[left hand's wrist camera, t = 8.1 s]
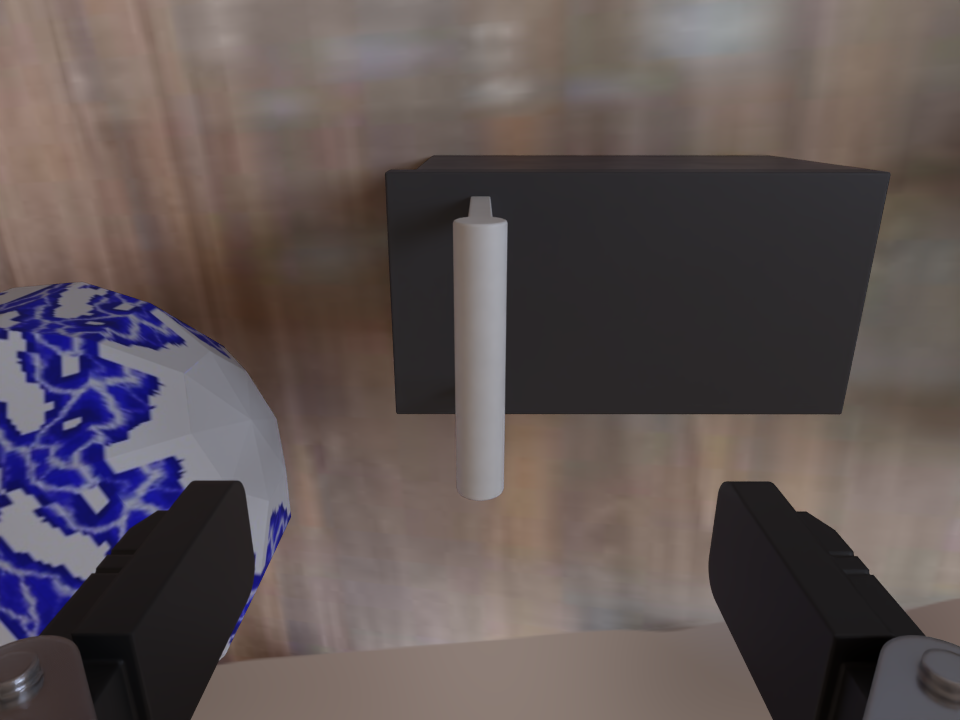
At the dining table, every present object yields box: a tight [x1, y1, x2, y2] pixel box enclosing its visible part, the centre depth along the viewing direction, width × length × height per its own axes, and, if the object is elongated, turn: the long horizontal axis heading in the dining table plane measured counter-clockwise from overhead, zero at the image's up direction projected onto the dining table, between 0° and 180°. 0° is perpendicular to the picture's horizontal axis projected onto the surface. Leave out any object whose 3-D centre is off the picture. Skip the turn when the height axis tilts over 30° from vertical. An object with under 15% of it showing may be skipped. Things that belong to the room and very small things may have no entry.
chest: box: [416, 156, 870, 170], centre depth 31 cm, size 17×9×9 cm, turn 90°
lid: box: [385, 170, 890, 501], centre depth 22 cm, size 18×9×9 cm, turn 90°
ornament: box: [0, 282, 291, 660], centre depth 29 cm, size 20×20×20 cm
